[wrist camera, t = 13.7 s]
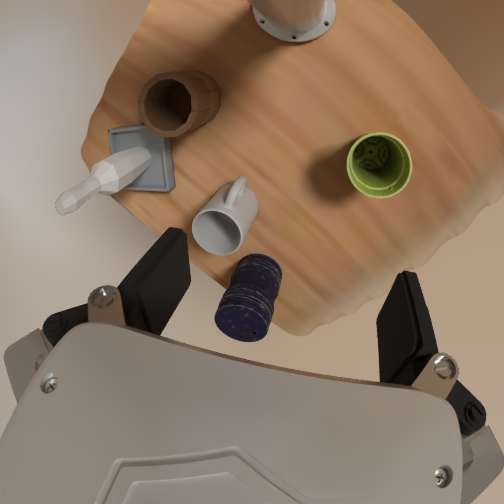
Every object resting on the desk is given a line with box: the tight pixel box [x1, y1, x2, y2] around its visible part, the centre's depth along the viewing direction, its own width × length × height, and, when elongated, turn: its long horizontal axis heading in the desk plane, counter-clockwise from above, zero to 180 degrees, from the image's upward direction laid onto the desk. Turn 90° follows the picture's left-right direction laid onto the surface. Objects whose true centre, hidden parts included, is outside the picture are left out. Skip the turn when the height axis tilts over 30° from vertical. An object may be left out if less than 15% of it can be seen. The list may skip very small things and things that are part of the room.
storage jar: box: [215, 254, 282, 342], centre depth 54 cm, size 10×10×15 cm
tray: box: [108, 124, 176, 192], centre depth 49 cm, size 13×13×2 cm
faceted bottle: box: [55, 146, 151, 215], centre depth 40 cm, size 6×6×22 cm
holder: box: [138, 72, 221, 138], centre depth 38 cm, size 10×10×9 cm
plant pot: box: [347, 132, 412, 198], centre depth 37 cm, size 9×9×9 cm
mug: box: [192, 176, 258, 256], centre depth 46 cm, size 12×8×11 cm
